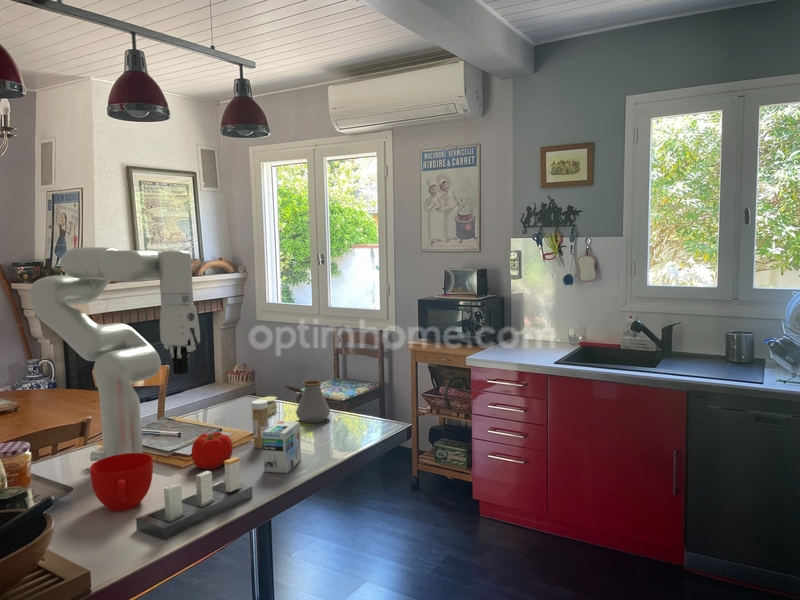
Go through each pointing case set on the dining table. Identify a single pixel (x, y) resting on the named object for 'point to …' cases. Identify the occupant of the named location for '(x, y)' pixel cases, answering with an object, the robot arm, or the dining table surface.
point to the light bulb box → (281, 446)
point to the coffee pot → (311, 403)
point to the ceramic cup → (122, 480)
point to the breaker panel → (190, 507)
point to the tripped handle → (232, 474)
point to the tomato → (211, 450)
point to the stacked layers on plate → (270, 404)
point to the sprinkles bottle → (259, 421)
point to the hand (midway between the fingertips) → (180, 372)
